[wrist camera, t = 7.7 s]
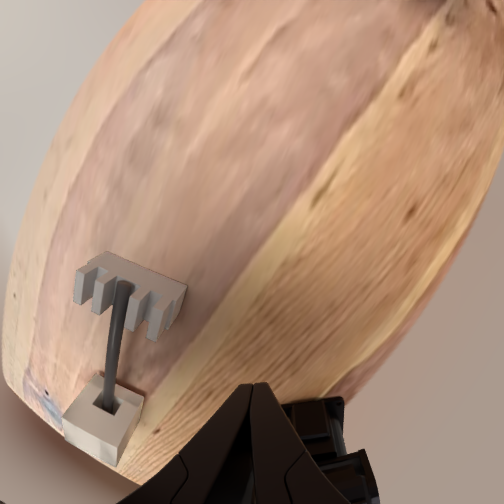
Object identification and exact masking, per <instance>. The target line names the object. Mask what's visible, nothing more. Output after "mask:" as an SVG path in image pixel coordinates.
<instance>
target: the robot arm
mask: <svg viewBox="0 0 504 504" xmlns="http://www.w3.org/2000/svg"><path fill="white" fill-rule="evenodd" d="M337 402H339V403H337ZM343 422H344V400H343V398H342V397H336V398H331V399H325V400H318V401H312V402H304V403H297V404H288V405H280V404H279V402H278V400H277V398H276V397H275V395H274V393H273V391H272V390H271V388H270V386H269V384H268V383H267V382H260V383H255V384H254V385H253V384H252V383H249V384H240V385H239V386H238V387H237V388H236V389H235V390H234V392H233V393H232V394H231V395H230V396H229V397H228V399H227V400H226V401H225V402H224V403H223V404H222V406H221V407H220V408H219V409H218V410H217V411H216V412H215V414H214V415H213V416H212V417H211V418H210V419H209V420H208V421H207V422H206V424H205V425H204V426H203V427H202V428H201V429H200V430H199V431H198V432H197V433H196V434H195V436H194V437H193V438H192V439H191V440H190V441H189V442H188V443H187V444H186V445H185V446H184V447H183V448H182V449H181V450H180V451H179V453H178V454H179V455H178V454H176V455H175V456H174V458H173V459H172V460H171V461H170V462H169V463H168V464H166V465H165V466H164V467H163V468H162V469H161V470H160V471H159V472H158V473H157V474H155V475H154V476H153V477H152V478H151V479H149V480H148V481H147V482H146V483H144V484H143V485H142V486H140V487H139V488H137V489H136V490H135V491H133V492H132V493H131V494H129V495H128V496H126V497H125V498H123V499H122V500H121V501H119V502H118V503H116V504H380V499H379V493H378V488H377V484H376V480H375V477H374V474H373V472H372V468H371V466H370V463H369V460H368V457H367V454H366V451H365V449H361V450H358V452H354V453H350V454H347V452H346V448H345V443H344V439H343ZM0 504H5V503H4V502H2V501H0Z"/></svg>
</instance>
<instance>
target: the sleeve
mask: <svg viewBox="0 0 504 504" xmlns="http://www.w3.org/2000/svg"><path fill="white" fill-rule="evenodd" d="M103 387H104V377H102V376H100V375H98V374H95V375H94V376H93V378H92V379H91V380H90V381H89V383H88V384H87V385H86V386H85V388H84V389H83V390H82V391H81V393H80V394H79V395H78V396H77V398H76V399H75V400H74V401H73V403H72V404H71V405H70V407H69V408H68V409H67V410H66V412H65V413H64V414H63V416H62V424H63V430H64V435H65V440H66V441H68V442H69V443H71V444H73V445H74V446H76V447H78V448H79V449H81V450H83V451H85V452H86V453H88V454H90V455H92V456H94V457H96V458H98V459H100V460H102V461H103V462H105V463H107V464H110V465H112V466H114V467H117V465H118V463H119V461H120V458H121V456H122V454H123V452H124V450H125V448H126V446H127V444H128V442H129V440H130V438H131V436H132V434H133V432H134V430H135V428H136V426H137V424H138V422H139V420H140V415H141V410H142V405H143V401H144V397H143V396H141V395H139V394H136V393H134V392H132V391H130V390H128V389H126V388H124V387H122V386H120V385H118V384H115V393H114V403H113V415H111V414H109V413H108V412H106V411H104V410H102V404H103Z"/></svg>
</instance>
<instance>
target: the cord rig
mask: <svg viewBox="0 0 504 504" xmlns="http://www.w3.org/2000/svg"><path fill="white" fill-rule="evenodd" d="M186 289H187V285H185V284H182V283H180V282H177V281H175V280H172V279H170V278H168V277H165V276H163V275H160V274H158V273H156V272H153V271H151V270H149V269H146V268H144V267H142V266H139V265H137V264H135V263H132V262H130V261H128V260H126V259H123V258H121V257H119V256H117V255H114V254H112V253H110V252H108V251H106V252H104V253H103V254H101V255H99V256H97V257H95V258H93V259H91V260H89V261H88V263H87V265H85V266H83V267H81V268H79V269H78V270H76V277H75V286H74V296H73V301H74V302H75V303H77V304H79V305H82V304H83V303H85V302H86V301H87V300H89V299H90V298H91V297H93V300H92V308H91V311H92V312H94V313H96V314H98V315H101V314H102V313H103V312H104V311H105V310H106V309H108V308H109V307H110V306H111V305H113V309H112V315H111V322H110V329H109V336H108V344H107V353H106V363H105V374H104V387H103V404H102V410H104V411H106V412H108V413H109V414H111V415H113V403H114V393H115V384H116V375H117V368H118V360H119V353H120V347H121V340H122V334H123V328H126V329H128V330H130V331H132V332H134V331H135V329H136V328H137V327H138V326H139V325H140V323H141V322H142V321H143V320H145V321H148V322H149V326H148V330H147V335H146V338H147V339H149V340H152V341H154V342H156V341H157V339H158V338H159V336H160V335H161V333H162V332H163V330H164V329H166V330H168V329H169V328H170V326H171V325H172V323H173V322H174V320H175V318H176V317H177V315H178V314H179V312H180V308H181V305H182V302H183V299H184V295H185V292H186ZM126 312H127V313H126ZM125 317H126V319H125ZM124 323H125V324H124Z"/></svg>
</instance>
